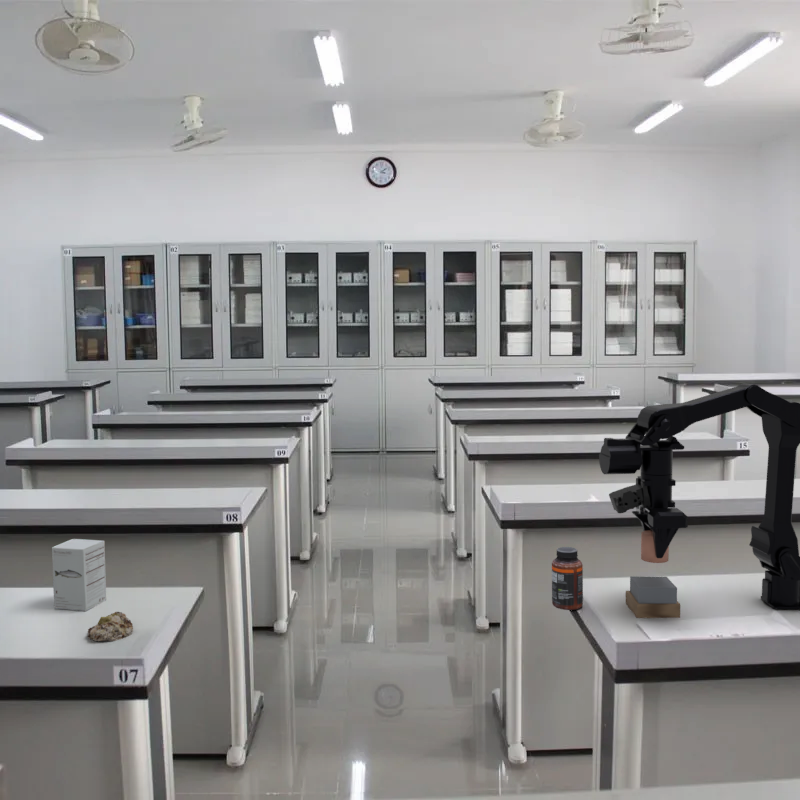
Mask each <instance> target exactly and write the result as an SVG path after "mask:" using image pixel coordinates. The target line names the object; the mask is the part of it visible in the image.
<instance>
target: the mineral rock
mask: <svg viewBox="0 0 800 800" xmlns="http://www.w3.org/2000/svg"><path fill="white" fill-rule="evenodd" d="M87 630H88V631H87V638H88V639H89V640H93V641H94V642H102V641H104V642H105V641H108V642H116V641H118V640H121V639H124V638H126V637H129V636H131V635H132V633H133V632H134V626H133V623H132V621H131V619H129V618H128V617H127V615H126V613H123V612H122V611H115V612H112V613H111V614H109V615H106V616H101V617H100V618H99V620H98V622H97V624H96V625H93V626H92V627H89V628H88V629H87Z"/></svg>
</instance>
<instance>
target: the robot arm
mask: <svg viewBox="0 0 800 800" xmlns="http://www.w3.org/2000/svg"><path fill="white" fill-rule="evenodd" d="M743 408H747V409H748V410H750V412H752V413H753V414H755V415H756V416H759V418H761V424H762V432H763V435H764V438H765V439H766V442H767V444H768V452H767V453H768V454H767V455H768V456H767V468H766V483H765V496H764V497H765V498H764V510H763V511H764V514H763V519H762V520H761V522H760V524H759V525H758V526H756V525H752V526H751V529H750V532H751V539H750V543H749V546H750V547H752V554H753V555H754V556H755V557H756V558H757V560H759V563H760V566H761V568H763V569H766V570H764V577H763V578H762V580H761V582H762V583H761V595H760V600H762V601H763V603H764V602H765V604H767V605H768V606H770V607H771V608H772V609H775V610H800V550H799V540H798V536H797V534H796V531H795V529H794V526H793V523H792V517H793V506H794V505H793V504H794V503H793V502H794V491H795V478H796V477H795V475H796V464H797V463H796V462H797V449H798V447H799V446H800V402H796V401H790V400H789V401H788V400H787V399H784V398H782V397H780V396H778V395H776V394H774V393H772V392H770V391H768V390H766V389H764V388H762V387H761V386H759V385H758V384H753V383H747V382H746V383H740V384H738V385H737V386H734V387H731V388H727V389H723V390H721V391H718V392H714V393H711V394H710V393H709V394H708V395H704V396H701V397H697V398H693V399H692V400H688V401H685V402H678V403H677V402H676V403H663V404H655V405H654V404H653V405H646V406H645V407H643V408H642V409H641V410H640V412H639V414H638V416H637V420H636V422H635V424H634V425H633V426H632V428H631V429H630V431H629V432H628V433H627V435H626V436H625V438H613V437H604V438H603V445H601V448H600V453H599V454H598V460H599V461H598V462H599V467H600V470H601V471H600V472H602V474H603V475H627V474H628V475H633V474H634V475H635V473H637V472H638V471H640V475H638V476H637V477H636V478H635V484H632V485H630V486H629V485H628V486H626V487H623V488H620V489H617V490H615V491H612V492H610V493H609V494H608V497H609V499H610V502H611V505H612V507H613V510H614V511H616V513H617V514H624V513H626V512H627V511H628V510H632V511H631V513H632V515H634V516H635V518H637V519H638V520H639V522H640V524H641V527H642V532H643V531H647V530H652V533H653V540H654V548H655V554H656V557H657V558H663V556H664V554H665V552H666V550H667V548H668V546H669V547H670V544H671V543H672V541H673V539H674V538H675V535H676V534H677V532H678V530H679V529H687V528H688V527H689V526H688V524H689V523H688V522H689V521H688V519H689V517H688V516H687V514H686V513H684V512H683V510H681V509H679V508H677V507H676V502H675V501H674V500H673V498H672V497H673V487H675V486H676V484H677V482H676V481H677V480H675V479H673V460H674V459H673V451H679V450H681V451H682V450H684V449H685V445H683V444H682V443H681V442H680V441H679V440H678V439H677V436H675V435H678V434H680V433H682V432H683V431H685V430H686V429H688V428H689V427H690V426H691V425H693V424H695V423H698V422H702V421H705V420H707V419H712V418H715V417H717V416H720V415H723V414H727V413H730V412H733V411H737V410H740V409H743ZM634 509H635V510H634Z"/></svg>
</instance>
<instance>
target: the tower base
mask: <svg viewBox="0 0 800 800" xmlns="http://www.w3.org/2000/svg"><path fill="white" fill-rule="evenodd" d="M625 605H626V606H627V607H628V609H629V610H630V611H631V613H633V615H634V616H635V617H636V619H656V618H657V619H661V618H663V619H667V618H670V619H672V618H673V619H676V618H677V619H678V618H681V603H680V602H679V601H678V600H677V604H639V603H638V602H637V600H636V599H635V598H634V596H633V595H632V593H631V592H630V590H625Z"/></svg>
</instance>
